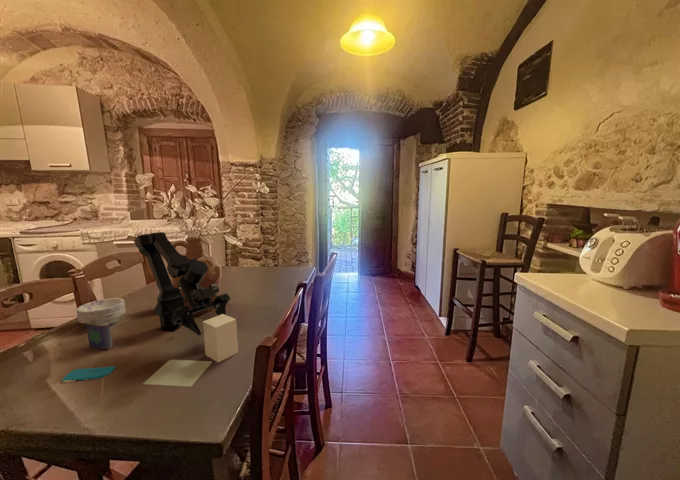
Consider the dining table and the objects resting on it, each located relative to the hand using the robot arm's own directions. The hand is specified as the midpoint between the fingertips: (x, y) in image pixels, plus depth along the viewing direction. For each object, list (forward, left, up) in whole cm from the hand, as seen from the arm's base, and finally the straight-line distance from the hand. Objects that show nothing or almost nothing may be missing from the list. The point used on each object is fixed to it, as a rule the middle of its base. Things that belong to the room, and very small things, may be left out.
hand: (213, 329), depth 99 cm
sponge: (-30, -15, -8) cm, 35 cm away
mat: (-5, -12, -8) cm, 15 cm away
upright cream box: (+3, -2, -8) cm, 9 cm away
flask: (-41, 0, -8) cm, 41 cm away
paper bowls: (-56, +18, -8) cm, 59 cm away
